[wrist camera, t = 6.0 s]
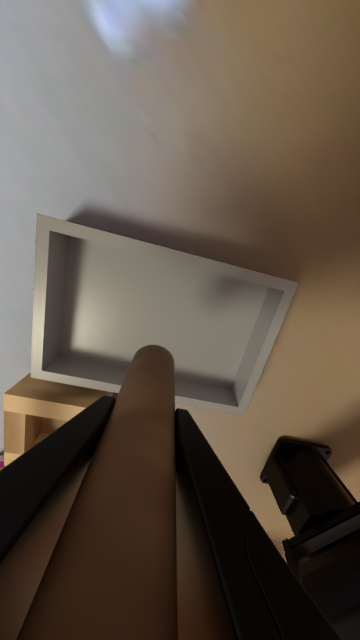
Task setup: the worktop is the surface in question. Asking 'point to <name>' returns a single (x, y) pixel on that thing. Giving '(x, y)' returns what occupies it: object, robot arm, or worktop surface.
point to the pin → (120, 524)
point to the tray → (150, 315)
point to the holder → (40, 411)
